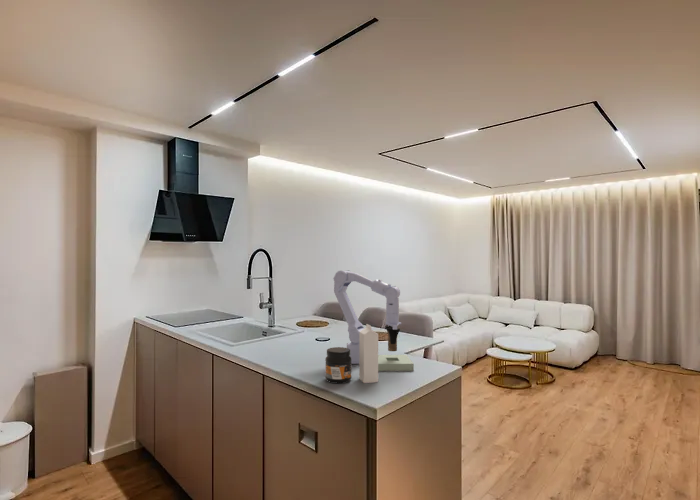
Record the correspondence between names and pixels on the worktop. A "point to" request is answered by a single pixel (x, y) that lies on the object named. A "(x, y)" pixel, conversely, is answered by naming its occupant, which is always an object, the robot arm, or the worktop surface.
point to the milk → (368, 355)
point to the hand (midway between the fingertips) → (392, 342)
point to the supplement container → (338, 365)
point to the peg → (391, 345)
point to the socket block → (395, 363)
